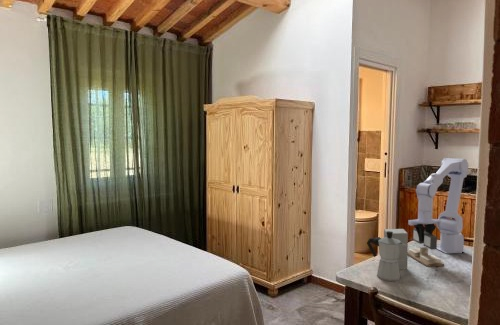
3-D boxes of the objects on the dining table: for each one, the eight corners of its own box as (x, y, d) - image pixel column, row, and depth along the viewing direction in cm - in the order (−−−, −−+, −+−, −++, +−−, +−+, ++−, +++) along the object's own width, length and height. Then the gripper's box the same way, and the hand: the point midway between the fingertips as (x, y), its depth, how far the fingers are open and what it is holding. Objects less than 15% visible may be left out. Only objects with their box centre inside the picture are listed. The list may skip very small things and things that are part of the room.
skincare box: (402, 264, 159) (403, 228, 158) (408, 270, 152) (409, 232, 151) (382, 264, 160) (383, 227, 158) (386, 270, 153) (387, 232, 151)
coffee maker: (407, 276, 146) (409, 231, 144) (403, 284, 138) (404, 236, 137) (369, 269, 154) (370, 226, 152) (363, 276, 147) (364, 231, 145)
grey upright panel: (436, 249, 158) (436, 236, 157) (430, 249, 158) (431, 236, 157) (417, 239, 172) (418, 228, 171) (412, 240, 171) (412, 228, 171)
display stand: (421, 252, 174) (421, 242, 174) (444, 265, 157) (444, 253, 157) (404, 253, 173) (405, 242, 173) (426, 266, 156) (426, 254, 156)
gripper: (414, 212, 159) (413, 243, 160) (446, 211, 160) (445, 242, 162) (406, 209, 166) (405, 239, 167) (436, 208, 167) (435, 238, 169)
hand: (424, 240), depth 165 cm, fingers closed on grey upright panel, 2 cm apart
